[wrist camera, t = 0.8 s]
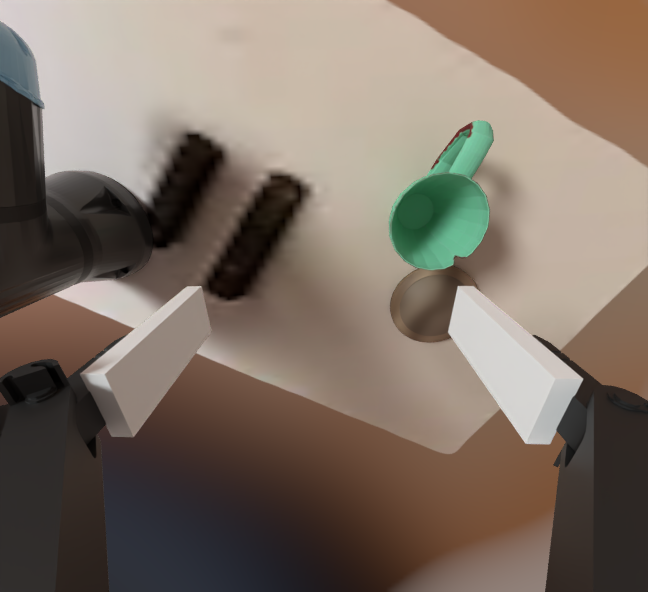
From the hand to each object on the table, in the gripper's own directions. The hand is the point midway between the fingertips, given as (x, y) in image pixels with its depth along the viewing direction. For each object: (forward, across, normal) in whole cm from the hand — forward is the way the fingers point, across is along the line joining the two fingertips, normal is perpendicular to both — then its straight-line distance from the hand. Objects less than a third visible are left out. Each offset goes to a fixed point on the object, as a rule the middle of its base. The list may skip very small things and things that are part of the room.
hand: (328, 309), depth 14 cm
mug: (+26, +12, +3) cm, 29 cm away
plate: (+25, +16, -13) cm, 32 cm away
